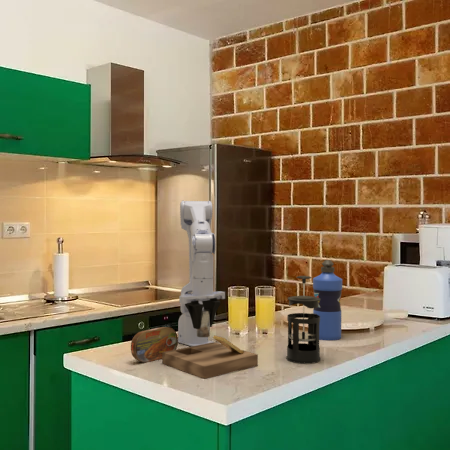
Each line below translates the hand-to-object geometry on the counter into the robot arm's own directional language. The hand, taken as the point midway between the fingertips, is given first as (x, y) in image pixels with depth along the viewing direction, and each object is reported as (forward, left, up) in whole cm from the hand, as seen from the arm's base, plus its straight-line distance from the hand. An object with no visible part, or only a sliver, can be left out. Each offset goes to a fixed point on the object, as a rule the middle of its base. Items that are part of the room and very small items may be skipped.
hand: (202, 327), depth 155 cm
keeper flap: (+9, +2, -4) cm, 10 cm away
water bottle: (+4, +49, -9) cm, 50 cm away
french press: (+17, +23, -9) cm, 30 cm away
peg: (0, 0, -2) cm, 2 cm away
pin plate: (+5, -1, -9) cm, 10 cm away
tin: (-10, -9, -9) cm, 16 cm away
